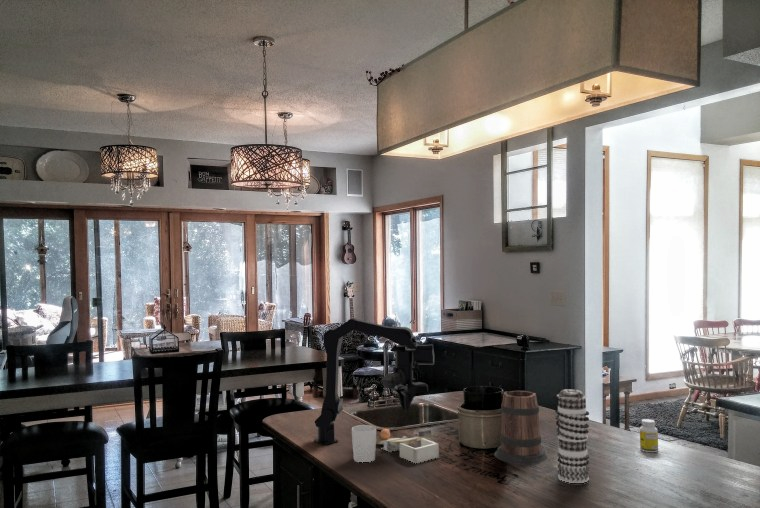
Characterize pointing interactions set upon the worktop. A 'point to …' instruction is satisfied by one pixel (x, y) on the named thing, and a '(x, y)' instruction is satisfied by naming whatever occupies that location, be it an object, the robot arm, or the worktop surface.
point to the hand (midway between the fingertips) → (405, 409)
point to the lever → (397, 441)
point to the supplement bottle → (648, 436)
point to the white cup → (364, 443)
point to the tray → (420, 451)
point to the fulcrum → (391, 446)
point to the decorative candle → (572, 436)
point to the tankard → (520, 429)
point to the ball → (385, 434)
